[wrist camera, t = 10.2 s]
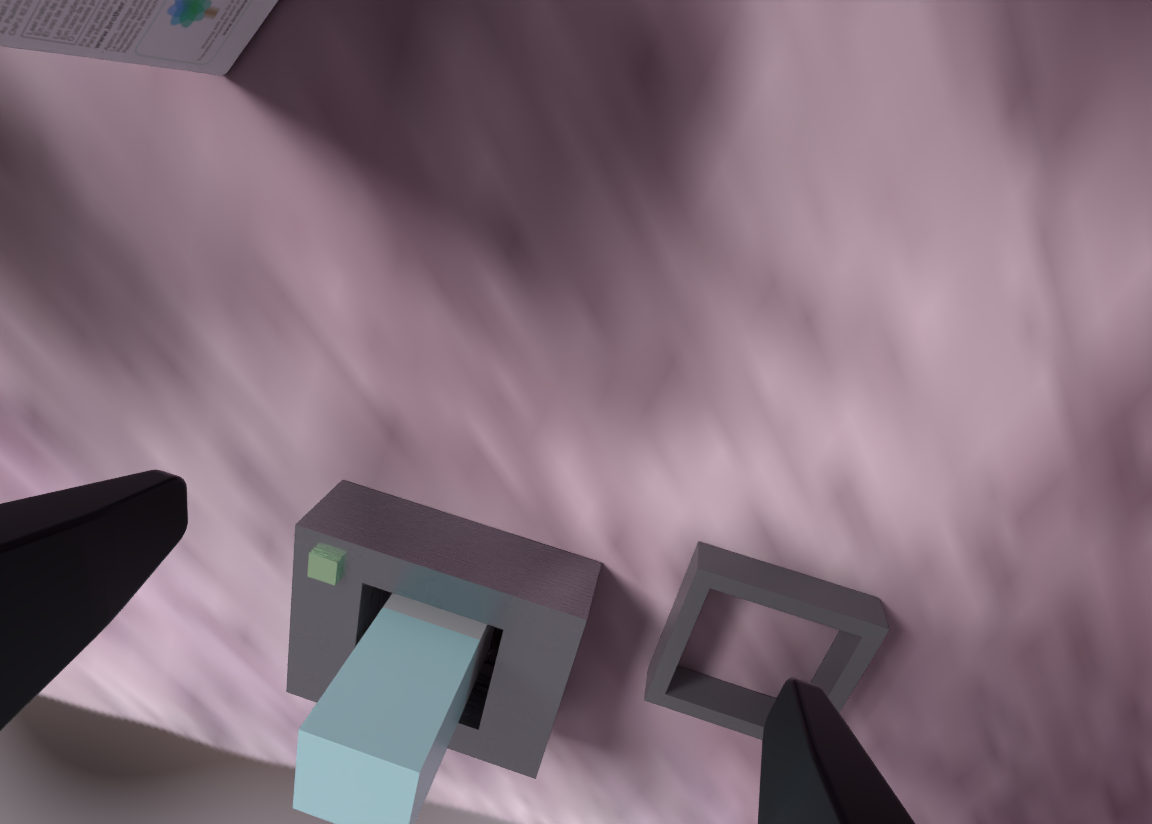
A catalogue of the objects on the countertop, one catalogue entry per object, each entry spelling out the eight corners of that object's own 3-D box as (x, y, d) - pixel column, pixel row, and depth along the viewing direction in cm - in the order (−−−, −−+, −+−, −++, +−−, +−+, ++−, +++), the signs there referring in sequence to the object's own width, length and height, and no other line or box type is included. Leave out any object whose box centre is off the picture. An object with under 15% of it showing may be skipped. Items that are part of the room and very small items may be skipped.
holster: (878, 597, 22) (889, 629, 20) (807, 721, 24) (812, 756, 23) (698, 541, 22) (697, 568, 21) (648, 669, 25) (644, 700, 24)
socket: (601, 562, 23) (585, 626, 20) (553, 713, 27) (533, 786, 24) (342, 479, 24) (289, 529, 21) (328, 636, 28) (281, 698, 25)
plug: (505, 583, 25) (419, 772, 17) (489, 649, 26) (404, 848, 19) (419, 554, 25) (298, 729, 18) (407, 621, 26) (292, 808, 19)
